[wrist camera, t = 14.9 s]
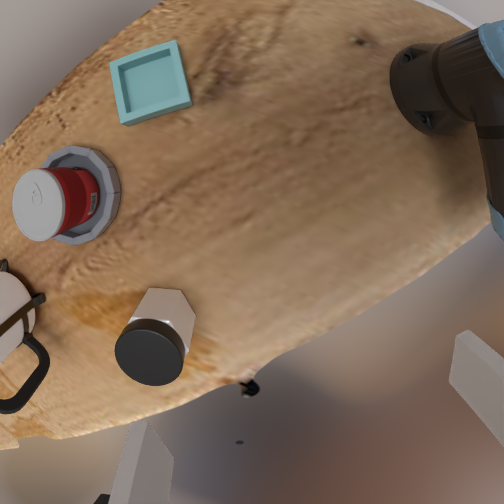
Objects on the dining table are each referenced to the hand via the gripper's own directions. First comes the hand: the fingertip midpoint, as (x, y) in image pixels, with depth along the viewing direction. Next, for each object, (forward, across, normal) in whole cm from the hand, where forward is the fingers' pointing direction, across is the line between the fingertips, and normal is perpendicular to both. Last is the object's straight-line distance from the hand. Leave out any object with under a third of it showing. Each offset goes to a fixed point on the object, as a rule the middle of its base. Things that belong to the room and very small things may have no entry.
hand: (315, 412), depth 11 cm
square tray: (+31, -8, +23) cm, 40 cm away
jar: (+32, -15, -8) cm, 36 cm away
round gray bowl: (+31, -22, +12) cm, 40 cm away
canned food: (+31, -22, +12) cm, 40 cm away
